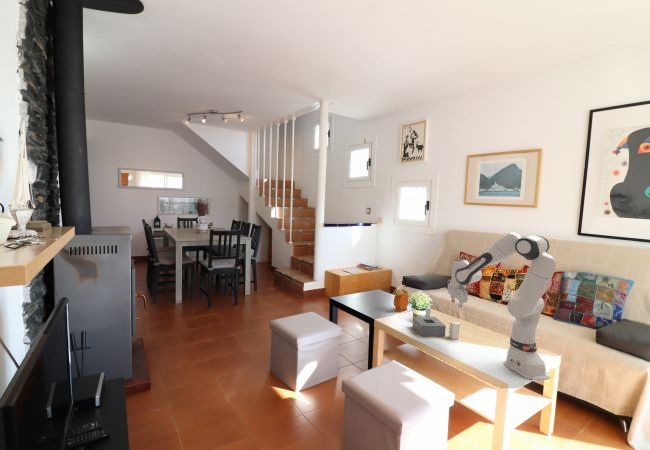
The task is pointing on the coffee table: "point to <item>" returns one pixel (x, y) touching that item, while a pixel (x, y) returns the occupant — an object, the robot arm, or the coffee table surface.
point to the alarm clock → (401, 300)
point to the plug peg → (454, 330)
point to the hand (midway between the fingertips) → (456, 304)
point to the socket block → (429, 326)
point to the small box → (428, 312)
